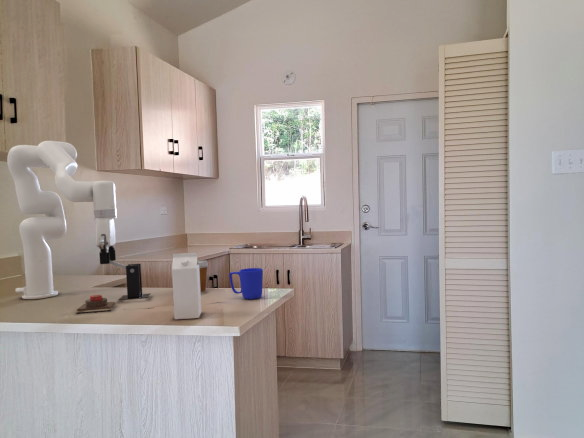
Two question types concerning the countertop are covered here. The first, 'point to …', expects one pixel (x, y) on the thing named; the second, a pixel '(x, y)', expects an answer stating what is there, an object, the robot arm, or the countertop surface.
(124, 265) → the lever
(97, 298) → the button
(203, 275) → the disposable coffee cup
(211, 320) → the countertop surface
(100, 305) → the button block
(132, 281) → the black lever base
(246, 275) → the mug
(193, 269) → the milk carton
